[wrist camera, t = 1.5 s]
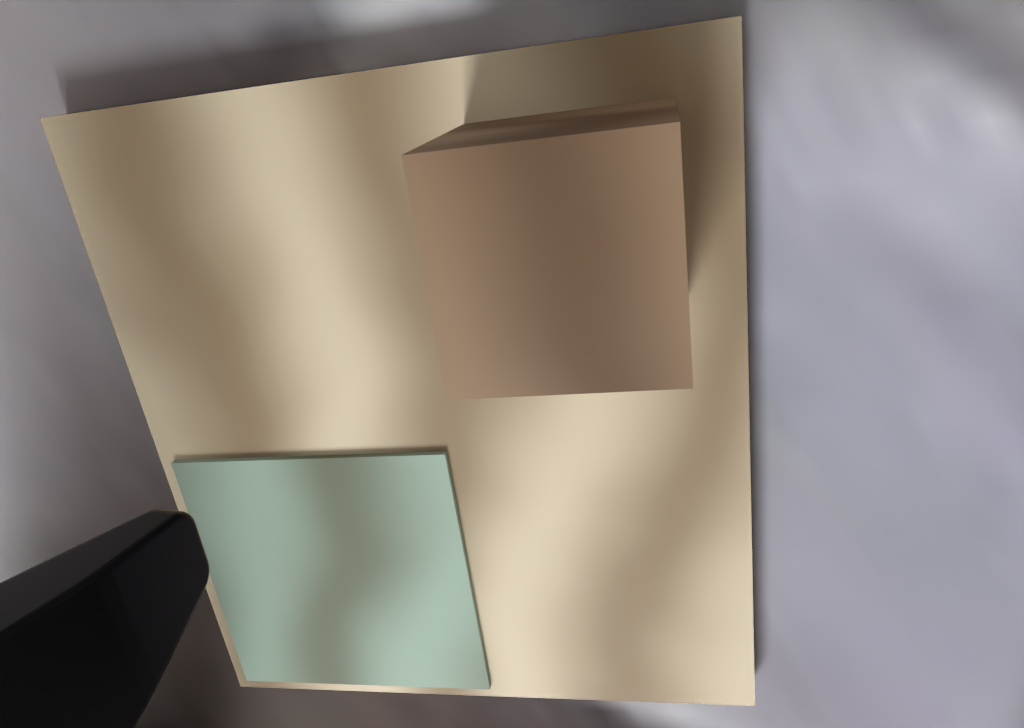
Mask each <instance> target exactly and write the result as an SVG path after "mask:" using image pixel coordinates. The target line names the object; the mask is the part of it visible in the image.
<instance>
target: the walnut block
mask: <svg viewBox="0 0 1024 728" xmlns="http://www.w3.org/2000/svg"><path fill="white" fill-rule="evenodd" d="M401 157H402V162H403V168H404V173H405V178H406V184H407V189H408V195H409V200H410V205H411V211H412V216H413V222H414V227H415V232H416V238H417V243H418V249H419V254H420V259H421V265H422V270H423V276H424V281H425V286H426V292H427V297H428V303H429V308H430V313H431V319H432V324H433V330H434V335H435V340H436V346H437V351H438V357H439V362H440V367H441V373H442V378H443V384H444V389H445V394H446V400H462V399H483V398H504V397H525V396H546V395H568V394H589V393H610V392H631V391H652V390H673V389H693V373H692V353H691V333H690V313H689V292H688V272H687V252H686V232H685V212H684V192H683V171H682V151H681V131H680V119H679V115H678V110H677V105H676V100H675V97H672V98H664V99H656V100H648V101H641V102H633V103H625V104H617V105H609V106H601V107H593V108H585V109H577V110H569V111H562V112H554V113H546V114H538V115H530V116H522V117H514V118H506V119H498V120H490V121H483V122H475V123H467V124H463V125H461V126H459V127H457V128H455V129H453V130H451V131H449V132H447V133H445V134H443V135H441V136H439V137H437V138H435V139H433V140H431V141H429V142H427V143H425V144H423V145H421V146H419V147H417V148H415V149H413V150H411V151H409V152H407V153H405V154H403V155H401Z"/></svg>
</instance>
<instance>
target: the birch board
mask: <svg viewBox="0 0 1024 728" xmlns="http://www.w3.org/2000/svg"><path fill="white" fill-rule="evenodd" d="M672 97H675V100H676V105H677V110H678V115H679V119H680V131H681V151H682V171H683V192H684V212H685V232H686V252H687V272H688V292H689V313H690V333H691V353H692V373H693V389H673V390H652V391H631V392H610V393H589V394H568V395H546V396H525V397H504V398H483V399H462V400H446V394H445V389H444V384H443V378H442V373H441V367H440V362H439V357H438V351H437V346H436V340H435V335H434V330H433V324H432V319H431V313H430V308H429V303H428V297H427V292H426V286H425V281H424V276H423V270H422V265H421V259H420V254H419V249H418V243H417V238H416V232H415V227H414V222H413V216H412V211H411V205H410V200H409V195H408V189H407V184H406V178H405V173H404V168H403V162H402V157H401V155H403V154H405V153H407V152H409V151H411V150H413V149H415V148H417V147H419V146H421V145H423V144H425V143H427V142H429V141H431V140H433V139H435V138H437V137H439V136H441V135H443V134H445V133H447V132H449V131H451V130H453V129H455V128H457V127H459V126H461V125H463V124H467V123H475V122H483V121H490V120H498V119H506V118H514V117H522V116H530V115H538V114H546V113H554V112H562V111H569V110H577V109H585V108H593V107H601V106H609V105H617V104H625V103H633V102H641V101H648V100H656V99H664V98H672ZM40 120H41V123H42V126H43V129H44V132H45V134H46V137H47V140H48V143H49V146H50V149H51V151H52V154H53V157H54V160H55V163H56V166H57V168H58V171H59V174H60V177H61V180H62V182H63V185H64V188H65V191H66V194H67V197H68V199H69V202H70V205H71V208H72V211H73V214H74V216H75V219H76V222H77V225H78V228H79V231H80V233H81V236H82V239H83V242H84V245H85V248H86V250H87V253H88V256H89V259H90V262H91V265H92V267H93V270H94V273H95V276H96V279H97V281H98V284H99V287H100V290H101V293H102V296H103V298H104V301H105V304H106V307H107V310H108V313H109V315H110V318H111V321H112V324H113V327H114V330H115V332H116V335H117V338H118V341H119V344H120V347H121V349H122V352H123V355H124V358H125V361H126V364H127V366H128V369H129V372H130V375H131V378H132V380H133V383H134V386H135V389H136V392H137V395H138V397H139V400H140V403H141V406H142V409H143V412H144V414H145V417H146V420H147V423H148V426H149V429H150V431H151V434H152V437H153V440H154V443H155V446H156V448H157V451H158V454H159V457H160V460H161V463H162V465H163V468H164V471H165V474H166V477H167V479H168V482H169V485H170V488H171V491H172V494H173V496H174V499H175V502H176V505H177V508H178V511H184V512H186V513H189V514H190V515H191V516H192V517H193V519H194V521H195V523H196V526H197V529H198V532H199V535H200V538H201V541H202V544H203V547H204V550H205V553H206V556H207V559H208V563H209V578H208V582H207V585H206V590H207V593H208V595H209V598H210V601H211V604H212V607H213V610H214V612H215V615H216V618H217V621H218V624H219V627H220V629H221V632H222V635H223V638H224V641H225V644H226V646H227V649H228V652H229V655H230V658H231V661H232V663H233V666H234V669H235V672H236V675H237V677H238V680H239V683H240V686H241V687H266V688H292V689H319V690H345V691H372V692H399V693H425V694H452V695H478V696H505V697H531V698H558V699H584V700H611V701H637V702H664V703H690V704H717V705H743V706H755V678H754V626H753V574H752V522H751V470H750V418H749V366H748V315H747V263H746V211H745V159H744V107H743V55H742V16H736V17H729V18H722V19H715V20H708V21H701V22H695V23H688V24H681V25H674V26H667V27H660V28H654V29H647V30H640V31H633V32H626V33H619V34H612V35H606V36H599V37H592V38H585V39H578V40H571V41H564V42H558V43H551V44H544V45H537V46H530V47H523V48H517V49H510V50H503V51H496V52H489V53H482V54H475V55H469V56H462V57H455V58H448V59H441V60H434V61H428V62H421V63H414V64H407V65H400V66H393V67H386V68H380V69H373V70H366V71H359V72H352V73H345V74H338V75H332V76H325V77H318V78H311V79H304V80H297V81H291V82H284V83H277V84H270V85H263V86H256V87H249V88H243V89H236V90H229V91H222V92H215V93H208V94H201V95H195V96H188V97H181V98H174V99H167V100H160V101H154V102H147V103H140V104H133V105H126V106H119V107H112V108H106V109H99V110H92V111H85V112H78V113H71V114H64V115H58V116H51V117H44V118H40Z"/></svg>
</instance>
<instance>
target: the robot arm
mask: <svg viewBox="0 0 1024 728" xmlns="http://www.w3.org/2000/svg"><path fill="white" fill-rule="evenodd" d="M208 578H209V563H208V559H207V556H206V553H205V550H204V547H203V544H202V541H201V538H200V535H199V532H198V529H197V526H196V523H195V521H194V519H193V517H192V516H191V515H190V514H189V513H186V512H184V511H176V510H167V509H155V510H152V511H149V512H147V513H145V514H143V515H141V516H139V517H136V518H134V519H132V520H130V521H128V522H126V523H124V524H122V525H120V526H118V527H116V528H114V529H111V530H109V531H107V532H105V533H103V534H101V535H99V536H97V537H95V538H93V539H91V540H89V541H86V542H84V543H82V544H80V545H78V546H76V547H74V548H72V549H70V550H68V551H66V552H64V553H61V554H59V555H57V556H55V557H53V558H51V559H49V560H47V561H45V562H43V563H41V564H39V565H36V566H34V567H32V568H30V569H28V570H26V571H24V572H22V573H20V574H18V575H16V576H14V577H11V578H9V579H7V580H5V581H3V582H1V583H0V728H134V727H135V725H136V723H137V722H138V720H139V718H140V717H141V715H142V713H143V711H144V710H145V708H146V706H147V704H148V703H149V701H150V699H151V697H152V695H153V693H154V691H155V689H156V687H157V685H158V683H159V681H160V679H161V677H162V675H163V673H164V671H165V669H166V667H167V665H168V663H169V661H170V659H171V657H172V655H173V653H174V651H175V649H176V647H177V645H178V643H179V641H180V638H181V636H182V634H183V632H184V630H185V628H186V626H187V624H188V622H189V620H190V618H191V616H192V614H193V612H194V610H195V608H196V606H197V604H198V602H199V600H200V598H201V596H202V594H203V592H204V590H205V587H206V585H207V582H208Z"/></svg>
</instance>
